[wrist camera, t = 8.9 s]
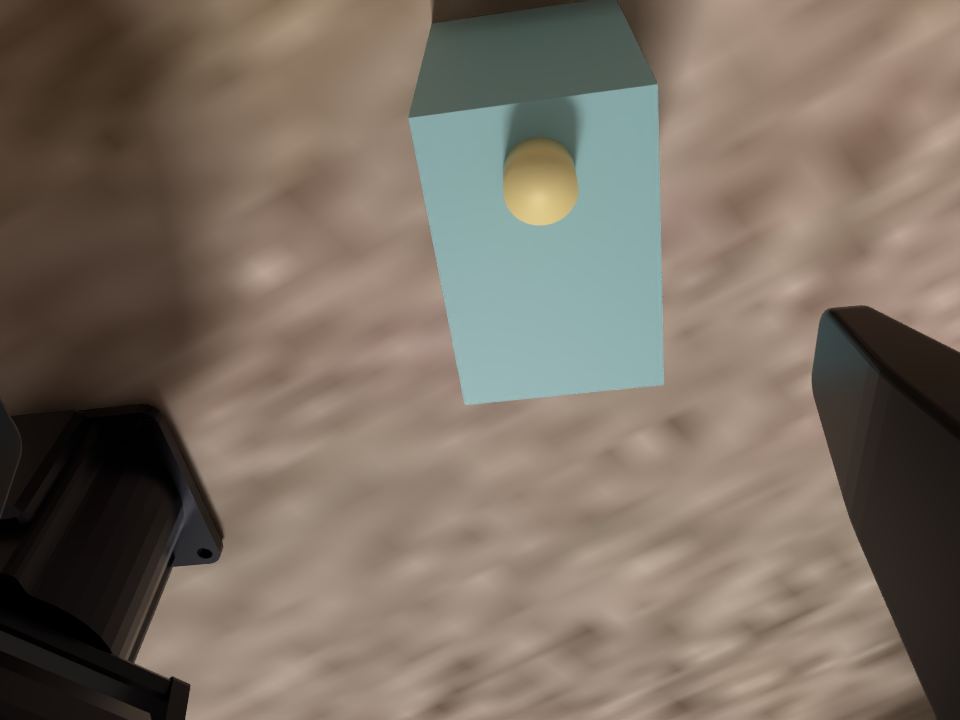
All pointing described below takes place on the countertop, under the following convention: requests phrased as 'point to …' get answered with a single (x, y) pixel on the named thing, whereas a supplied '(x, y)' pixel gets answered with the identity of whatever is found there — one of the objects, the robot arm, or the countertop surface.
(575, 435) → the countertop surface
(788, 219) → the countertop surface
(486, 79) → the teal box with knob
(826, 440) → the robot arm
